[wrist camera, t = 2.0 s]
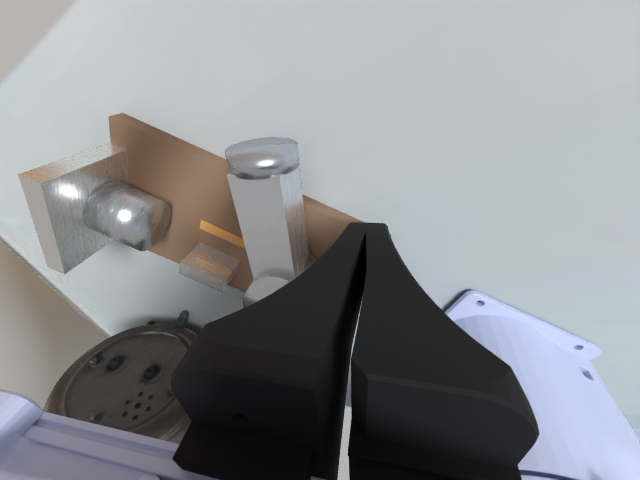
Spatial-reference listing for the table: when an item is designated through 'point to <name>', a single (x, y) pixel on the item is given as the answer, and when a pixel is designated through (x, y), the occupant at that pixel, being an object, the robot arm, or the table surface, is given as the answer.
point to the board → (203, 197)
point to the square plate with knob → (106, 214)
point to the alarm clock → (128, 382)
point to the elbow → (269, 212)
